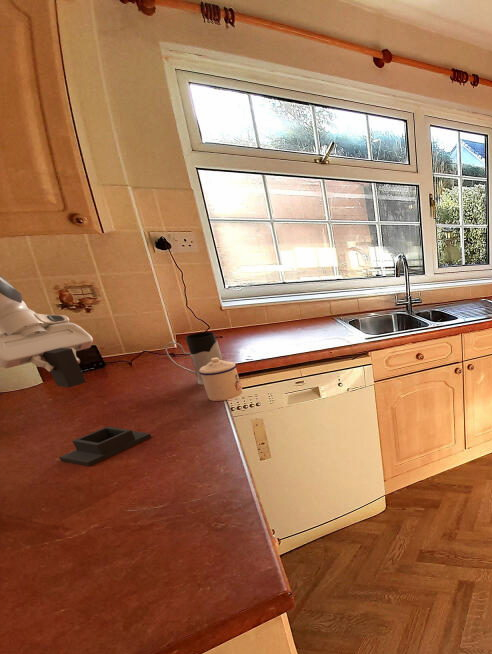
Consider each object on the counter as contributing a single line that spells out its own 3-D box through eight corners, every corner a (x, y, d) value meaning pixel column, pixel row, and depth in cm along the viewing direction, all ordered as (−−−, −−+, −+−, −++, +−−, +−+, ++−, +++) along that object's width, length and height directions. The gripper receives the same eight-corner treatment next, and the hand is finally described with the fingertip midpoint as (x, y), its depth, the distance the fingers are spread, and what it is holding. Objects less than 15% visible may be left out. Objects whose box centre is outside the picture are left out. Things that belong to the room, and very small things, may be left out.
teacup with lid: (246, 395, 125) (235, 358, 120) (210, 404, 119) (197, 366, 115) (239, 384, 133) (228, 349, 129) (204, 392, 128) (192, 355, 123)
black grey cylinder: (227, 381, 136) (213, 336, 130) (173, 389, 130) (157, 343, 125) (231, 373, 143) (218, 330, 137) (181, 380, 138) (165, 335, 132)
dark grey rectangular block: (69, 387, 116) (54, 353, 112) (56, 386, 117) (41, 351, 113) (86, 382, 120) (71, 348, 116) (74, 380, 121) (59, 347, 117)
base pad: (89, 466, 91) (82, 452, 89) (60, 460, 93) (53, 447, 92) (151, 437, 102) (146, 424, 101) (124, 432, 105) (119, 420, 103)
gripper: (-27, 331, 104) (17, 372, 106) (72, 314, 123) (109, 348, 124) (-30, 348, 107) (14, 386, 108) (68, 328, 125) (104, 361, 127)
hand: (65, 366), depth 116 cm, fingers closed on dark grey rectangular block, 4 cm apart
